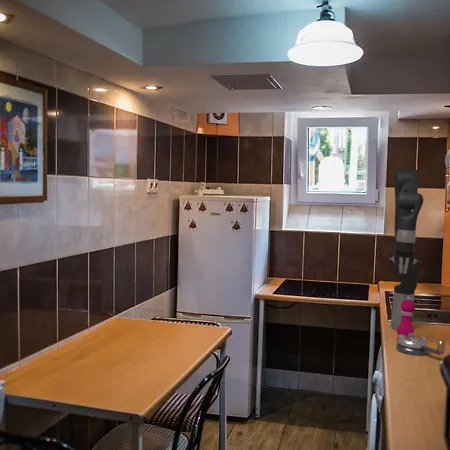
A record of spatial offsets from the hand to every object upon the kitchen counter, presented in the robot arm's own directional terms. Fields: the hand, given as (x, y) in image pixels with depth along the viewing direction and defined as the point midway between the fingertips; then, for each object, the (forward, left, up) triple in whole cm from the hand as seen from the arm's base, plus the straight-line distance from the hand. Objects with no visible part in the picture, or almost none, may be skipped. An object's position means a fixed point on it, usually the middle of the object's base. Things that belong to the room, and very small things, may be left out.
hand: (401, 282), depth 229 cm
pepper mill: (-7, +4, -27) cm, 29 cm away
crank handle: (+8, +9, -25) cm, 28 cm away
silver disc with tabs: (+5, +6, -27) cm, 28 cm away
